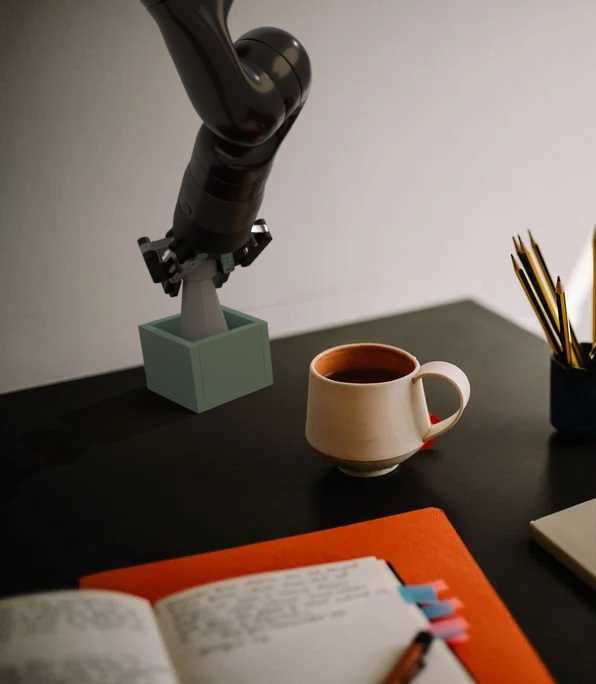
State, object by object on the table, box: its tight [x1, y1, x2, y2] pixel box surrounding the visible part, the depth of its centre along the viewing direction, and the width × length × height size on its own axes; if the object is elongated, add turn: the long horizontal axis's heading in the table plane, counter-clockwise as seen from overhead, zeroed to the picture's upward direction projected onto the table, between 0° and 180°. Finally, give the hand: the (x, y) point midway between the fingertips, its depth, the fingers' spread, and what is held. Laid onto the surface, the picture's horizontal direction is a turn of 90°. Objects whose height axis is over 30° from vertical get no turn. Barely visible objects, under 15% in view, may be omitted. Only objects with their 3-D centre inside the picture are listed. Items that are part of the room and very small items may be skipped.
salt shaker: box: [179, 260, 229, 343], centre depth 101 cm, size 6×6×13 cm
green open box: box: [137, 304, 274, 415], centre depth 103 cm, size 10×10×8 cm
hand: (192, 285), depth 101 cm, fingers closed on salt shaker, 4 cm apart
